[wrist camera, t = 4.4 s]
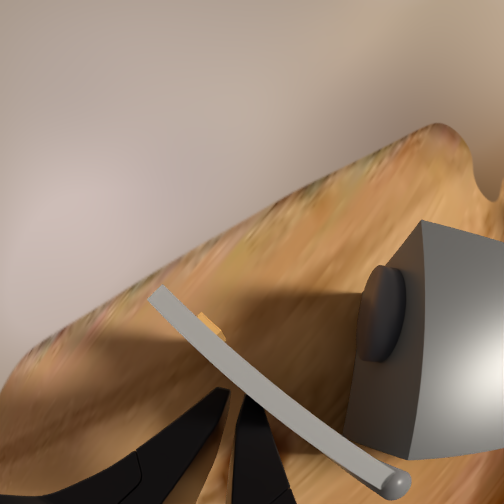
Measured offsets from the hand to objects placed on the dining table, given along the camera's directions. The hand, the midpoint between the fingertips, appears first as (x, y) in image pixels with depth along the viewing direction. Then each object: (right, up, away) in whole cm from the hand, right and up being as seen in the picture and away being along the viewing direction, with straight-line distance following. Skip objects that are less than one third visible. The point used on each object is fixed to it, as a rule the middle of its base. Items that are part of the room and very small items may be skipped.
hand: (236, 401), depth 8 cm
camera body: (+10, -2, +6) cm, 12 cm away
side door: (+1, -3, +6) cm, 7 cm away
